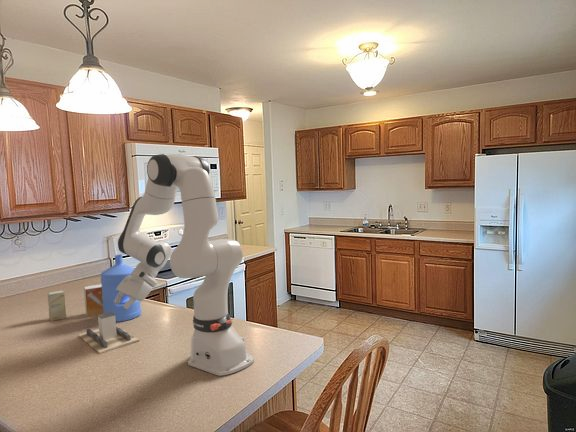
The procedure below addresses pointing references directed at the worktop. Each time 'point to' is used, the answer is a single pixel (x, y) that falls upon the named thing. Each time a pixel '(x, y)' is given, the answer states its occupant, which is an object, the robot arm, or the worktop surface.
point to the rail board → (109, 344)
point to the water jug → (109, 292)
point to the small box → (93, 300)
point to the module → (107, 325)
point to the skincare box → (56, 305)
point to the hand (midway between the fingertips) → (119, 305)
